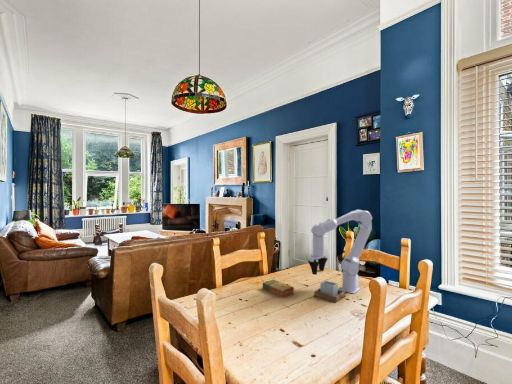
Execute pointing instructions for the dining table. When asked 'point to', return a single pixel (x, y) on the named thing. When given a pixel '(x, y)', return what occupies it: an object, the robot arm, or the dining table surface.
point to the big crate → (329, 297)
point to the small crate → (329, 288)
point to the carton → (278, 288)
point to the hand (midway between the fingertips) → (318, 272)
